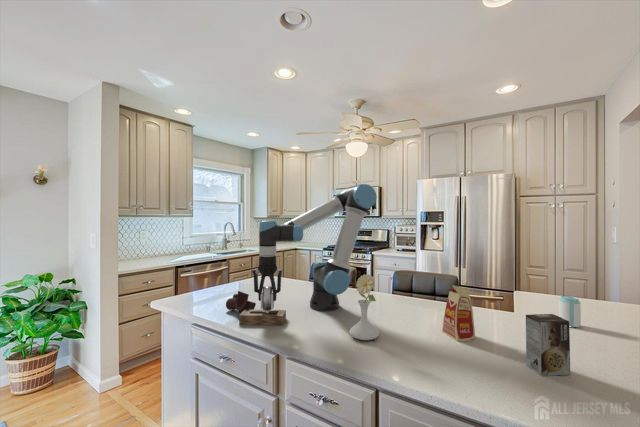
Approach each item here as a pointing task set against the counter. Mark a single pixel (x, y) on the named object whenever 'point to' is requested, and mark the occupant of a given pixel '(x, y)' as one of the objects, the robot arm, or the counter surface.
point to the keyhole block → (262, 317)
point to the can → (570, 310)
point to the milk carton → (459, 315)
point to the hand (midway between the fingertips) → (267, 308)
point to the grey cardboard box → (548, 344)
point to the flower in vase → (364, 310)
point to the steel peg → (267, 299)
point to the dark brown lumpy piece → (240, 302)
